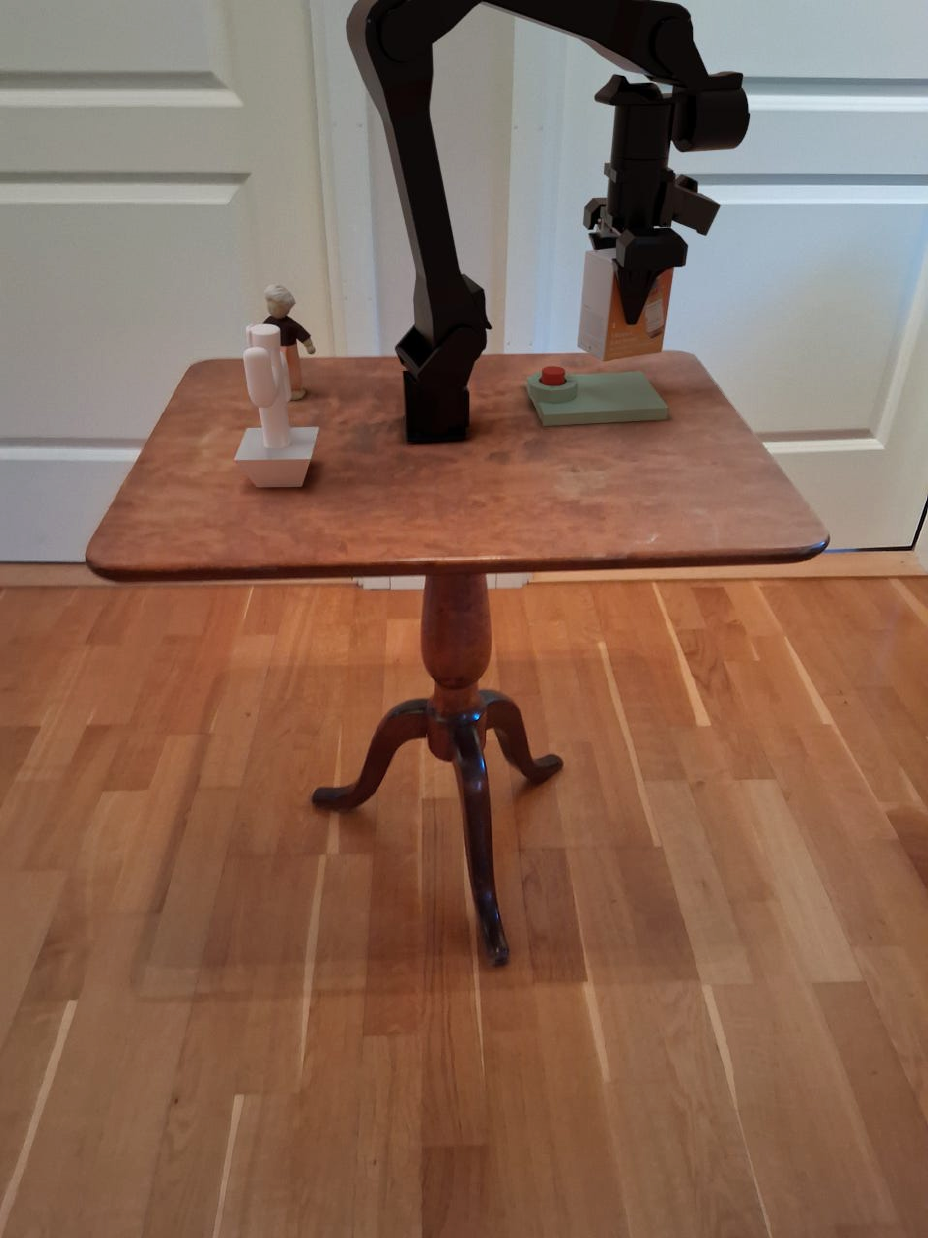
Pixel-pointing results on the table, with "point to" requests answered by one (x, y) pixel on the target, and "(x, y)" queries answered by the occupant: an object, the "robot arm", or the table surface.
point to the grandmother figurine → (288, 334)
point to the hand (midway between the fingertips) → (623, 314)
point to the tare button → (553, 376)
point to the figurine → (272, 416)
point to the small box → (619, 312)
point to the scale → (596, 399)
